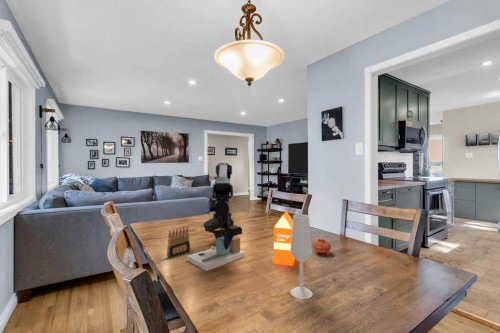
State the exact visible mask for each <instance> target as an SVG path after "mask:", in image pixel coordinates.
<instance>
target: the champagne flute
mask: <svg viewBox="0 0 500 333" xmlns="http://www.w3.org/2000/svg"><path fill="white" fill-rule="evenodd" d="M292 220H293V225H292V237H291V248H290V252H291V254H292V255H293V257H294V258H295V261H297V262H299V264H298V267H299V278H298V279H299V286H297V287H294V288H291V290H290V295H291V296H293V297H294V298H296V299H301V300H307V299H310V298H312V296H313V292H312V291H311V290H310V289H309V288H307V287H305V286H304V263H305V262H306V261H308V259H310V258H311V256H312V254H313V243H312V235H311V224H310V216H309V215H307V214H304V213H303V214H302V213H300V214H299V213H297V214H293V215H292Z"/></svg>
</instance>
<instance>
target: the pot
mask: <svg viewBox="0 0 500 333" xmlns="http://www.w3.org/2000/svg"><path fill="white" fill-rule="evenodd" d="M312 249H314V252H315V254H316V255H318V254H319V253H321V254H322V253H323V254H324V253H326V255H327V256H329V254H330V250H331V249H332V246H331V244H330V243H329V242H328V241H327V240H326V239H323V238H321V239H320V238H319V239H317V240H315V241H314V243H312Z"/></svg>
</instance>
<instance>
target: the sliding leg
mask: <svg viewBox="0 0 500 333" xmlns="http://www.w3.org/2000/svg"><path fill="white" fill-rule="evenodd" d="M210 249H212V250H216V253H218V254H221V255H224V254H227V253H230V245H229V247H228V249H226V250H225V245H224V237H219V238H215V246H214V245H211V246H210Z"/></svg>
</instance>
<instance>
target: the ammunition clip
mask: <svg viewBox="0 0 500 333" xmlns="http://www.w3.org/2000/svg"><path fill="white" fill-rule="evenodd" d="M190 244H191V243H190V234H189V226H188V225H187V226H186V227H185V226H183V227H180V228H179V229H178V228H176V229H174V228H173V229H172V231H171V229H170V230H169V232H168V240H167V254H166V255H167V256H166V257H167V258H168V259H172V258H176V257H178V256H181V255H184V254H187V253H190V252H191V245H190Z"/></svg>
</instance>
